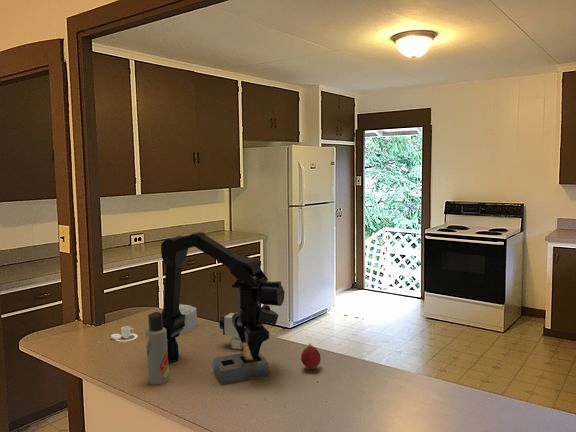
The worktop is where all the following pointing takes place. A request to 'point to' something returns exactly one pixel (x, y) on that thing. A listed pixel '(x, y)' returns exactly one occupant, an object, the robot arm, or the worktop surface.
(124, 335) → the teacup and saucer
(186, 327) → the lumpy-topped squat cylinder
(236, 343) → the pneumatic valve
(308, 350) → the onion
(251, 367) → the socket block
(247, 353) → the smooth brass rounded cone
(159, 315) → the lotion bottle
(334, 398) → the worktop surface
